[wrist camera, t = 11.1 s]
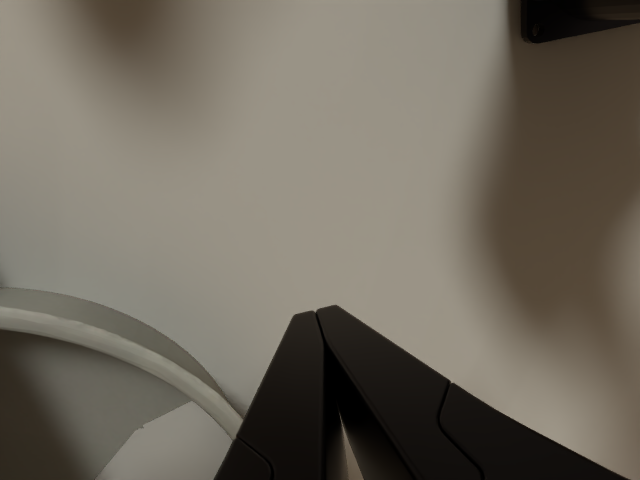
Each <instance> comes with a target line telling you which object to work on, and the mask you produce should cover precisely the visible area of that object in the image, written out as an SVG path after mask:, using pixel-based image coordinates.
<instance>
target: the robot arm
mask: <svg viewBox="0 0 640 480" xmlns="http://www.w3.org/2000/svg"><path fill="white" fill-rule="evenodd" d="M635 23H640V0H521V35H522V38H523V40H524V41H525V42H527V43H543V42H548V41H553V40H557V39H562V38H567V37H572V36H577V35H582V34H587V33H591V32H596V31H601V30H606V29H611V28H616V27H621V26H625V25H630V24H635ZM535 24H537V25H538V27H539V30H538V33H537V34H536V35H535V36H534V35H533V32H532V30H533V27H534V26H535ZM339 413H340V414H339ZM340 417H341V419H340ZM341 420H342V424H343V427H344V429H345V432H346V435H347V438H348V440H349V443H350V445H351V448H352V450H353V453H354V455H355V458H356V460H357V463H358V466H359V468H360V471H361V473H362V476H363V478H364V480H630V479H628V478H625V477H623V476H621V475H619V474H617V473H615V472H613V471H611V470H609V469H607V468H605V467H603V466H601V465H599V464H597V463H595V462H593V461H591V460H590V459H588V458H586V457H584V456H582V455H580V454H578V453H576V452H574V451H572V450H570V449H568V448H567V447H565V446H563V445H561V444H559V443H557V442H555V441H553V440H551V439H549V438H547V437H545V436H544V435H542V434H540V433H538V432H536V431H534V430H532V429H530V428H528V427H526V426H525V425H523V424H521V423H519V422H517V421H516V420H514V419H512V418H510V417H508V416H506V415H505V414H503V413H501V412H499V411H497V410H496V409H494V408H492V407H491V406H489V405H488V404H486V403H484V402H483V401H481V400H480V399H478V398H476V397H475V396H473V395H472V394H470V393H468V392H467V391H465V390H464V389H462V388H461V387H459V386H458V385H456V384H455V383H451V381H450V380H449V379H447V378H446V377H444V376H443V375H441V374H440V373H438V372H437V371H435V370H434V369H432V368H431V367H429V366H428V365H426V364H425V363H423V362H422V361H420V360H419V359H417V358H416V357H414V356H413V355H411V354H410V353H408V352H407V351H405V350H404V349H402V348H401V347H399V346H398V345H396V344H395V343H393V342H392V341H390V340H389V339H387V338H386V337H384V336H383V335H381V334H380V333H378V332H377V331H375V330H374V329H372V328H371V327H369V326H368V325H366V324H365V323H363V322H362V321H360V320H359V319H357V318H356V317H354V316H353V315H351V314H350V313H348V312H347V311H345V310H344V309H342V308H341V307H339V306H337V305H332V306H328V307H324V308H320V309H318V310H317V311H316V313H315V312H314V311H307V312H303V313H299V314H295V315H294V316H293V317H292V319H291V321H290V323H289V326H288V328H287V330H286V332H285V334H284V336H283V338H282V340H281V342H280V344H279V346H278V349H277V351H276V353H275V355H274V357H273V359H272V361H271V363H270V365H269V367H268V369H267V371H266V374H265V376H264V378H263V380H262V382H261V384H260V386H259V388H258V390H257V392H256V394H255V397H254V399H253V401H252V403H251V405H250V407H249V409H248V411H247V413H246V415H245V417H244V419H243V422H242V424H241V426H240V428H239V430H238V432H237V434H236V438H235V439H234V440H233V442H232V444H231V446H230V448H229V450H228V452H227V455H226V457H225V459H224V460H223V462H222V464H221V466H220V468H219V470H218V472H217V474H216V476H215V478H214V480H349V479H348V470H347V461H346V453H345V444H344V436H343V429H342V424H341Z"/></svg>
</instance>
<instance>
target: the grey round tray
mask: <svg viewBox="0 0 640 480" xmlns="http://www.w3.org/2000/svg"><path fill="white" fill-rule="evenodd" d="M190 401H194V402H195V403H196V404H198V405H199V406H200V407H201V408H202V409H203V410H205V411H206V412H207V413H208V414H209V415H210V416H211V417H212V418H213V419H214V420H215V421H216V422H217V423H218V424H219V425H220V426H221V427H222V428H223V429H224V430H225V431H226V433H227V434H228V435H229V437H230V438H231V439H232V440H234V439H235V438H236V434H237V432H238V430H239V428H240V426H241V424H242V422H243V419H242V418H241V417H240V415H239V414H238V413H237V412H236V411H235V410H234V409H233V408H232V407H231V406H230V405H229V403H228V401H227V399H226V397H225V396H224V394H223V392H222V390H221V389H220V388H219V386H218V385H217V383H216V382H215V381H214V379H213V378H212V376H211V375H210V374H209V373H208V372H207V371H206V370H205V368H204V367H203V366H202V365H201V364H200V363H199V362H198V361H197V360H196V359H195V358H194V357H192V356H191V355H190V354H189V353H188V352H187V351H185V350H184V349H183V348H182V347H180V346H179V345H178V344H177V343H175V342H174V341H173V340H171V339H170V338H168V337H167V336H165V335H164V334H162V333H160V332H159V331H157V330H156V329H154V328H152V327H150V326H149V325H147V324H145V323H143V322H141V321H139V320H137V319H135V318H133V317H131V316H129V315H126V314H124V313H122V312H119V311H117V310H114V309H112V308H109V307H106V306H103V305H100V304H97V303H94V302H91V301H88V300H84V299H80V298H76V297H72V296H68V295H63V294H58V293H52V292H45V291H39V290H30V289H19V288H0V480H94V479H95V478H96V477H97V476H98V474H99V473H100V472H101V471H102V470H103V468H104V467H105V466H106V465H107V464H108V462H109V461H110V460H111V459H112V458H113V456H114V455H115V454H116V453H117V452H118V451H119V449H120V448H121V447H122V446H123V445H124V443H125V442H126V441H127V440H128V439H129V437H130V436H131V435H132V434H133V433H134V431H135V430H138V428H143V425H144V424H146V423H148V422H150V421H152V420H154V419H156V418H158V417H160V416H162V415H164V414H166V413H168V412H170V411H172V410H174V409H176V408H178V407H180V406H182V405H184V404H186V403H188V402H190Z"/></svg>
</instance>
